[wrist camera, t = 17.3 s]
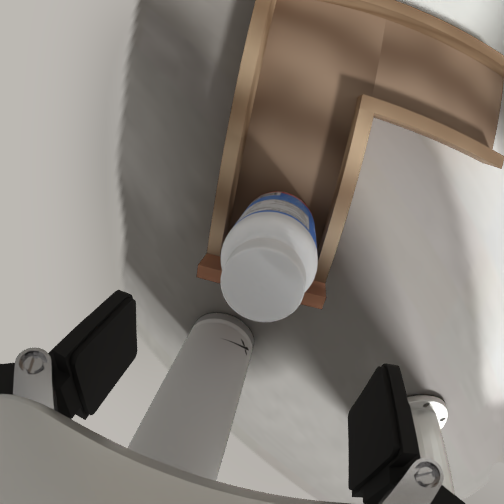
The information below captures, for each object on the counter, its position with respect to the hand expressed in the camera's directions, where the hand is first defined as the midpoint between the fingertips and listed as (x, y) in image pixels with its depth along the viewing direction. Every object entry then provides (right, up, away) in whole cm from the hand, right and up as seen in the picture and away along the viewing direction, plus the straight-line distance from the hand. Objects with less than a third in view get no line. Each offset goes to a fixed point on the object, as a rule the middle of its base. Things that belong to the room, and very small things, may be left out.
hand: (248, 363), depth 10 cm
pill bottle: (+2, +6, +13) cm, 14 cm away
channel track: (+9, +12, +9) cm, 18 cm away
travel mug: (-3, -4, +19) cm, 20 cm away
